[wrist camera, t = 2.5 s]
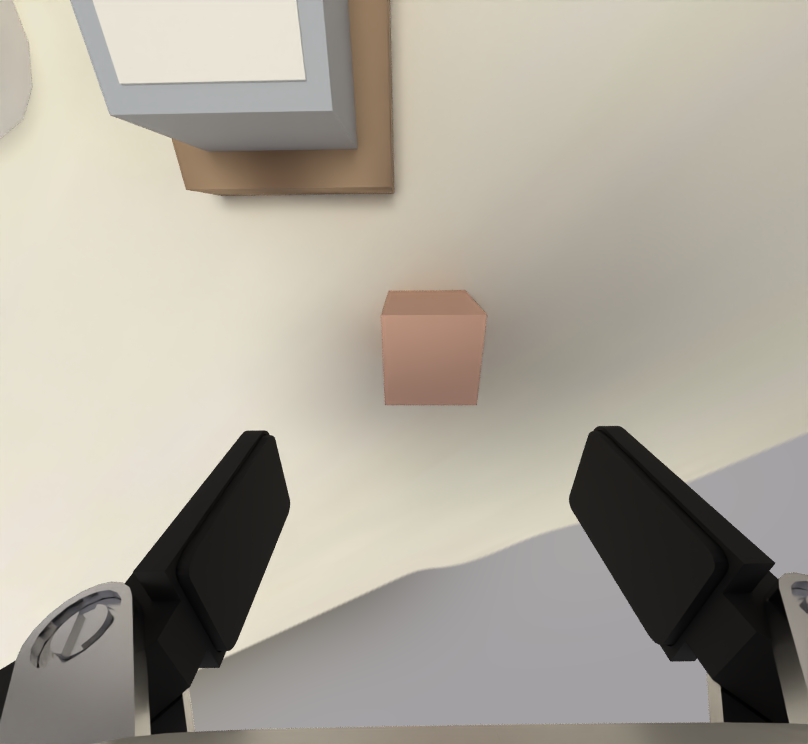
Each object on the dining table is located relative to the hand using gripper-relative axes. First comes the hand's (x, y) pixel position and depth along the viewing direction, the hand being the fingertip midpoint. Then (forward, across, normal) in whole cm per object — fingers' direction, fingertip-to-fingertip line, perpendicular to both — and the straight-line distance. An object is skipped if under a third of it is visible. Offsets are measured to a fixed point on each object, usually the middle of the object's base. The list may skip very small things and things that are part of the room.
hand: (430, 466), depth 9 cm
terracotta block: (+13, -1, 0) cm, 13 cm away
